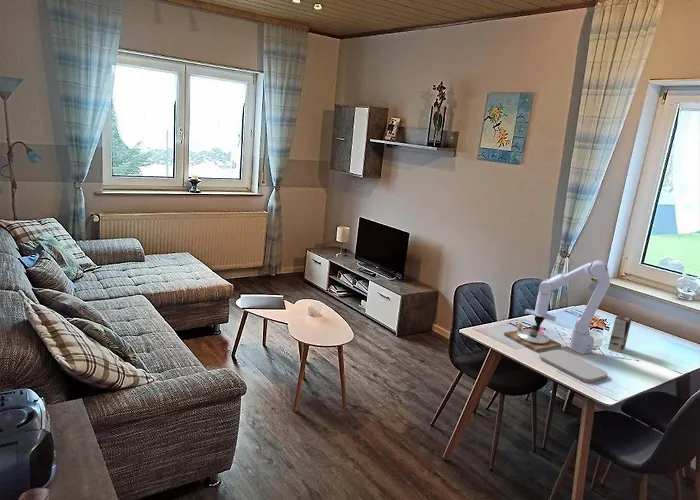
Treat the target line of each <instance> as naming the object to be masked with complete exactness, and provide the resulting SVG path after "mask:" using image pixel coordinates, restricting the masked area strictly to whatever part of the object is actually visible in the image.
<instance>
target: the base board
mask: <svg viewBox="0 0 700 500" xmlns="http://www.w3.org/2000/svg"><path fill="white" fill-rule="evenodd" d="M522 327H523V323H518V327H517V330H513V331H505V332H503V336H504V337H507V338H508V339H509V340H512V341H514V342H516V343H517V344H520V345H522V346H523V347H525V348H527V349H528V350H531V351H533V352H534V353H537V352H541V351H542V352H543V351H544V352H545V351H548V350H549V351H550V350H555V349H559V348H561V347H562V343H560V342H557V341H555V339H554V340H553V339H551V338H549V342H548V343H547V344H534V343H530V342H527V341H524V340H522V339H520V338H519V337H518V336H517V331H518V330H522ZM525 329H526V330H530V333H529V335H531V336H537V333H538V332H539V331H536V330H531V328H525Z"/></svg>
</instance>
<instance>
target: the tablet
mask: <svg viewBox="0 0 700 500" xmlns="http://www.w3.org/2000/svg"><path fill="white" fill-rule="evenodd" d="M538 357H539V359H540V361H542V362H544V363H547V364H548V365H550V366H553V367H555V368H557V369H559V370H560V371H561V372H563V373H566V374H567V375H569V376H571V377H574V378H575V379H577V380H579V381H582V382H583V383H592V382H596V381H598V380H599V381H600V380H603V379H605V378H606V377H607V376H608V371H606V370H604V369H602V368H601V367H597V366H595V365H593V364H591V363H589V362H587V361H585V360H583V359H580V358H579V357H577V356H575V355H572V354H570V353H567V352H566V351H564V350H561V349H551V350H549V351H548V350H546V351H544V352H543V351H542V352H540V353H539V354H538Z"/></svg>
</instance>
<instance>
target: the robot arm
mask: <svg viewBox="0 0 700 500" xmlns="http://www.w3.org/2000/svg"><path fill="white" fill-rule="evenodd" d="M583 275H585V276H586V275H588V276H591V275H592V276H593V277H594V278H595V279H596V282H597V285H596V288H595V289H594V291H593V293H592V295H591V296H590V299H589V301H588V303H587V305H586V306H585V308H584V311H582V313H581V315H579V316H578V317H577V318H576V319H575V320H576V321H575V324H574V327H573V330H572V333H571V338H570V342H569V344H566V345H565V347H566V348H569V349H571V350H573V351H575V352H576V353H578V354H581V355H586V354H590V353H593V351H592V350H593V348H594V347H593V346H594V343H595V339H594V336H592V335H591V333H590V326H591V322H592V321H593V317H595V313H596V311H597V310H598V309H599V306H600V305H601V302H602V300H603V298H605V297H604V296H605V295H606V293H607V291H608V290H609V287H610V285H611V279H610V273H609V268H608V265H606V263H605V262H604V261H603V260H600V259H596V260H594V261H593V262H592V261H591V262H588V263H585V264H583V265H581V266H579V267H577V268H575V269H573V270H572V271H571V270H570V272H568V273H565V274H564V273H556V274H555V276H553V277H550V278H547V279H545V280H543V281H542V282H541V283H540V284H539V286H538V294H537V298H536V303H535V307H534V308H535V309H528V308H526V309H525V311H524V315H525V314H526V315H527V314H528V315H532V316H534V321H535V325H536V331H538V332H540V328H541V325H542V323H543V322H544V321H545V320H548V321H552V322H556V319H557V317H556V316H553V315H551V314H549V313H548V311H549V306H550V298H551V297H550V296H551V292H552V291H555V290H558V289H560V288H562V287H563V286H566V285H568V282H569V281H570V280H573V279H575V278H577V277H580V276H583Z"/></svg>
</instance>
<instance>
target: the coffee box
mask: <svg viewBox="0 0 700 500" xmlns="http://www.w3.org/2000/svg"><path fill="white" fill-rule="evenodd" d="M632 319H633V318H632V317H631V316H626V315H620V314H617V316H616V317H615V319H614V323H613V327H612V331H611V334H610V339H609V343H608V346H607V348H608V350H611V351H613V352H617V353H623V351H624V350H625V349H626V344H627V342H628V341H627V340H628V337H629V331H630V328H631V324H632Z"/></svg>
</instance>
